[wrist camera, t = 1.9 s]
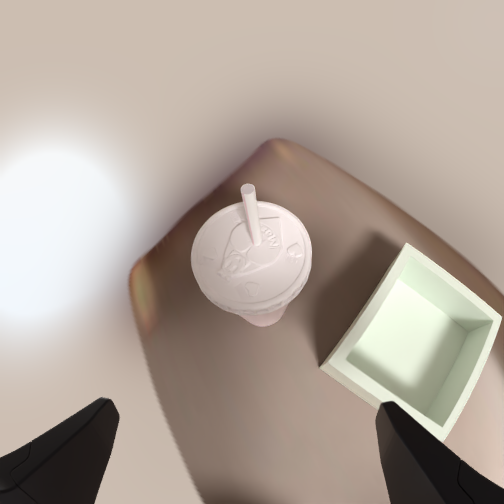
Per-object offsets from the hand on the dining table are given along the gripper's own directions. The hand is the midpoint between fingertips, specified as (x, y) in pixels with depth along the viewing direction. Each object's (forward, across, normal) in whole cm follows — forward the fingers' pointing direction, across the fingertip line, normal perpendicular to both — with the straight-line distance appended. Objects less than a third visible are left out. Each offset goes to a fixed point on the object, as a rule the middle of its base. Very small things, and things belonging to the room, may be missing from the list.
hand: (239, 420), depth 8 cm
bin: (+12, -12, +7) cm, 18 cm away
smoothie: (+15, 0, +4) cm, 16 cm away
